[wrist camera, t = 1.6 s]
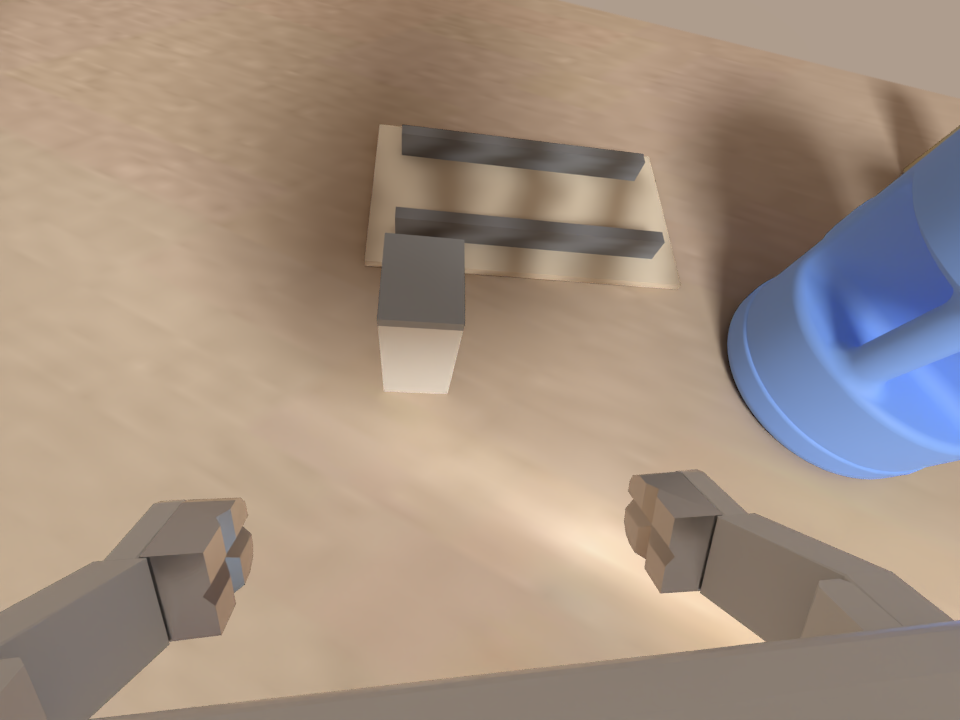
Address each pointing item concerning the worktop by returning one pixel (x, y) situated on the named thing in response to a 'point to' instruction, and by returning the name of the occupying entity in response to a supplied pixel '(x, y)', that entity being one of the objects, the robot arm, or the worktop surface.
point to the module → (420, 312)
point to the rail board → (523, 206)
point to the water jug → (865, 333)
